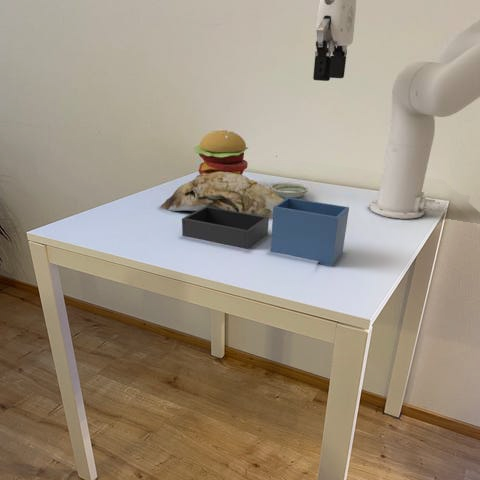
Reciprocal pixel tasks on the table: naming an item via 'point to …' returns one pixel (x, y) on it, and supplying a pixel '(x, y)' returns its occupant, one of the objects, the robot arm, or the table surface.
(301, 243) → the blue bin
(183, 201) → the rock
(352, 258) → the table surface
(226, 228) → the charcoal bin
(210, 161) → the hamburger
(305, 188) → the saucer
